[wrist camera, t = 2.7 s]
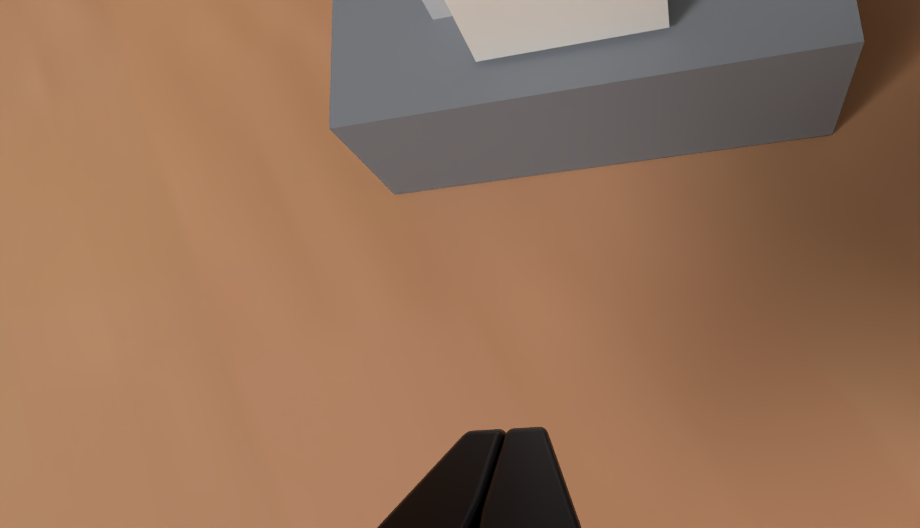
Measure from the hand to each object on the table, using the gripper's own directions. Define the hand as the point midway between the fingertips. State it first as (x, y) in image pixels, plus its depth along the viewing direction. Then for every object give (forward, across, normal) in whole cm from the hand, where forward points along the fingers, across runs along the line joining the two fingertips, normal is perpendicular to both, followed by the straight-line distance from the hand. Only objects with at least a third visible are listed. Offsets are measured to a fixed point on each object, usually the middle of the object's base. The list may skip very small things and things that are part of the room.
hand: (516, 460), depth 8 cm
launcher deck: (+18, 0, -1) cm, 18 cm away
